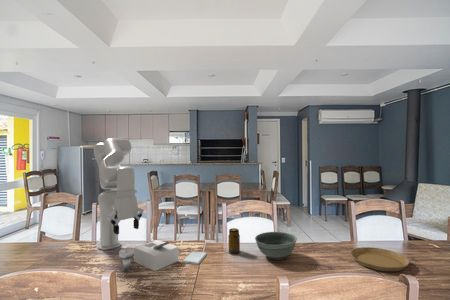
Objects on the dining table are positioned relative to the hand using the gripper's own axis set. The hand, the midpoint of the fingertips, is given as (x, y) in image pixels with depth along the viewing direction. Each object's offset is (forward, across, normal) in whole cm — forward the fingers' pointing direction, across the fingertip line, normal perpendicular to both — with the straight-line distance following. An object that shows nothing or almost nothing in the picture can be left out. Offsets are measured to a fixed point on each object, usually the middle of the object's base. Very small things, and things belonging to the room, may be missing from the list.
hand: (126, 231), depth 120 cm
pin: (+18, 0, -1) cm, 18 cm away
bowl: (+19, -55, +46) cm, 74 cm away
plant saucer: (+20, -79, +88) cm, 120 cm away
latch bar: (+10, -14, +7) cm, 18 cm away
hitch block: (+18, -14, +2) cm, 23 cm away
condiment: (+18, -47, +26) cm, 57 cm away
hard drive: (+19, -28, +15) cm, 37 cm away
